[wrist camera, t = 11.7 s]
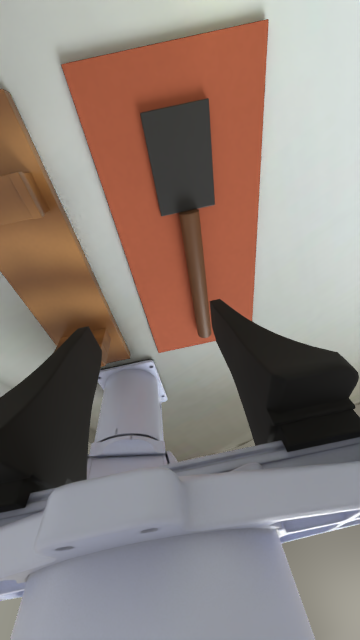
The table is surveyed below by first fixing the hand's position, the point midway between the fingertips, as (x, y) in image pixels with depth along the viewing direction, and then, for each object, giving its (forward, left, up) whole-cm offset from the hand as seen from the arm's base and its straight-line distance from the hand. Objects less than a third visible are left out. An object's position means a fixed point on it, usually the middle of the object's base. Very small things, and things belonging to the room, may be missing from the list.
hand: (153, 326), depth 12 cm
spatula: (+1, -4, -8) cm, 9 cm away
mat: (+1, -4, -9) cm, 10 cm away
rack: (+1, +9, -9) cm, 13 cm away
